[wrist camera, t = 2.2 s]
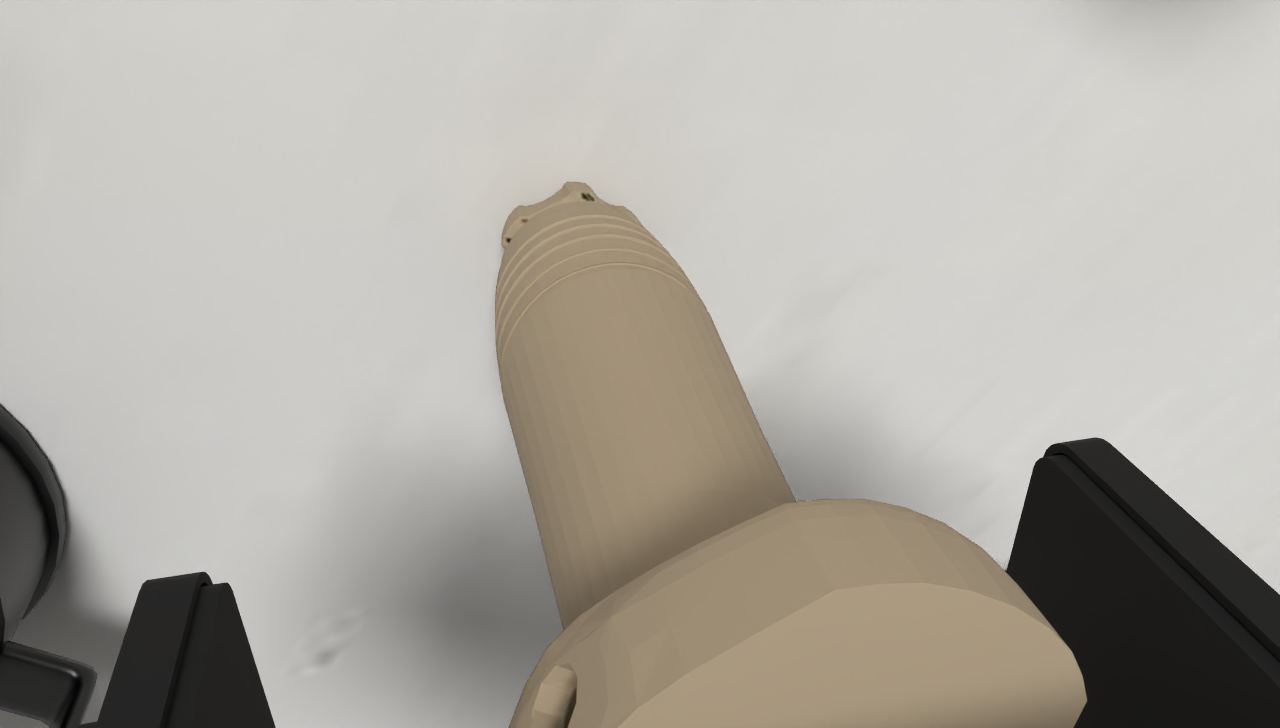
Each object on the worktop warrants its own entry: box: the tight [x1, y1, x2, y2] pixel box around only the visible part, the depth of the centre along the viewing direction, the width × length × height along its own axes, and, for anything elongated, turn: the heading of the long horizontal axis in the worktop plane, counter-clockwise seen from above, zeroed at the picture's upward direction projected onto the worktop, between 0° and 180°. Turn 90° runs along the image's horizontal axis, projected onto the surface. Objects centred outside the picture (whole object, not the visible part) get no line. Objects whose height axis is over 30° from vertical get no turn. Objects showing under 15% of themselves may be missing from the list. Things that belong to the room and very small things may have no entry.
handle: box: [495, 182, 1087, 728], centre depth 15 cm, size 5×6×15 cm
